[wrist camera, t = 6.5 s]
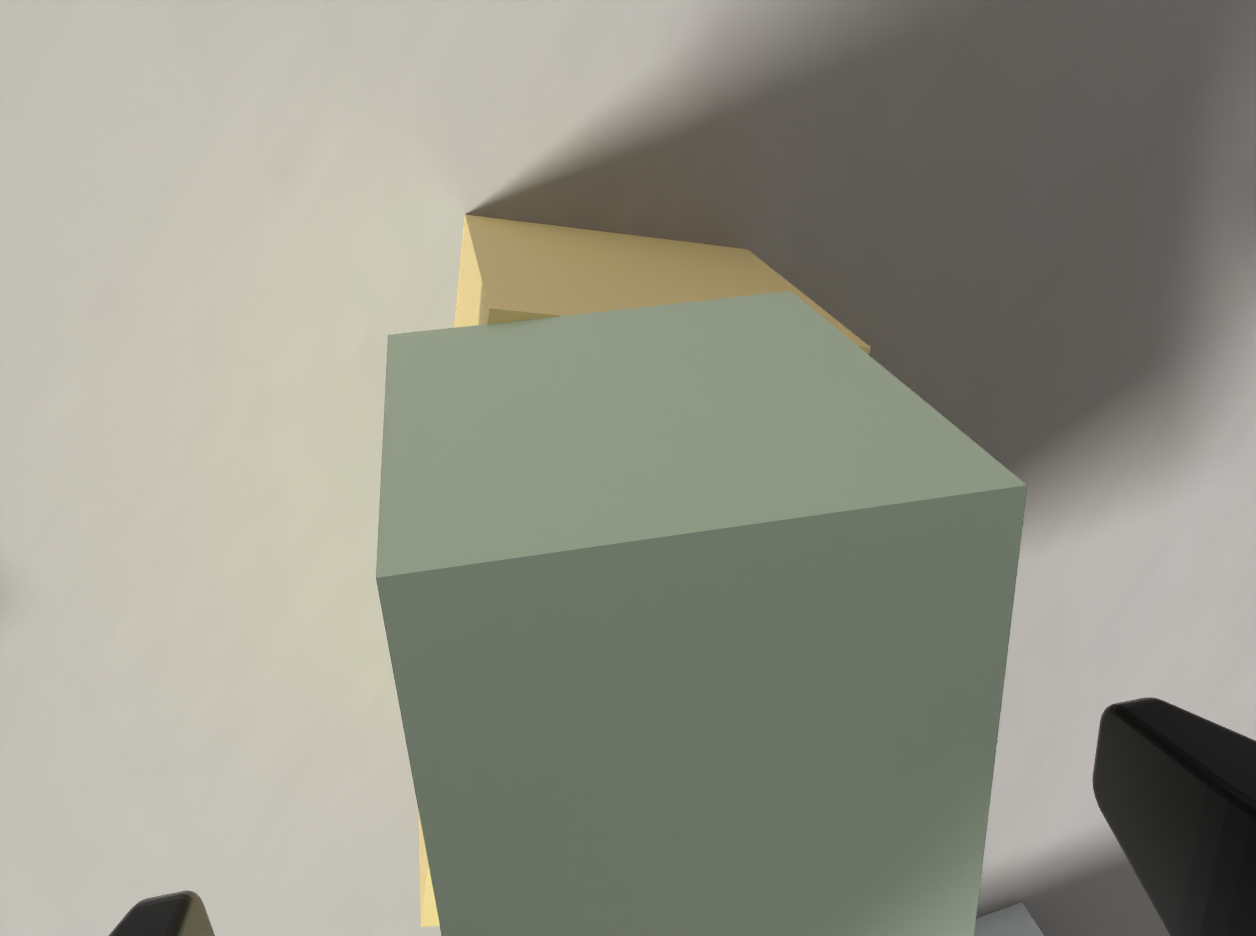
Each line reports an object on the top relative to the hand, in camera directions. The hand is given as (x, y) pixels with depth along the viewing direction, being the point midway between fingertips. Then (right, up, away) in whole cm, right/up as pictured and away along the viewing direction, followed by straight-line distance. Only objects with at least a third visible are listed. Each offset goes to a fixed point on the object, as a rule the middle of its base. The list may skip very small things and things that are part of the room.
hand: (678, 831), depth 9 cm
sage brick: (-1, +1, +2) cm, 2 cm away
